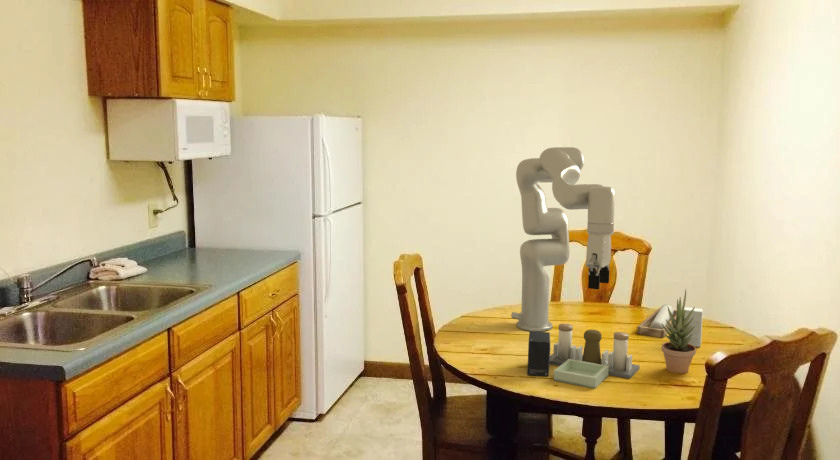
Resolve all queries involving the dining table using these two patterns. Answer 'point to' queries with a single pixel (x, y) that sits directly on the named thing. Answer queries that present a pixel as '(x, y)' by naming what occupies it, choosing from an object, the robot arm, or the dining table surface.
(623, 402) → the dining table surface
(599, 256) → the robot arm
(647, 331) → the tube rest
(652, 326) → the tube
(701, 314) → the skincare box
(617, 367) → the fuse block
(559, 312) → the dining table surface
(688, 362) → the potted plant
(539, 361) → the small box
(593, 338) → the olive waisted cylinder
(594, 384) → the tray
